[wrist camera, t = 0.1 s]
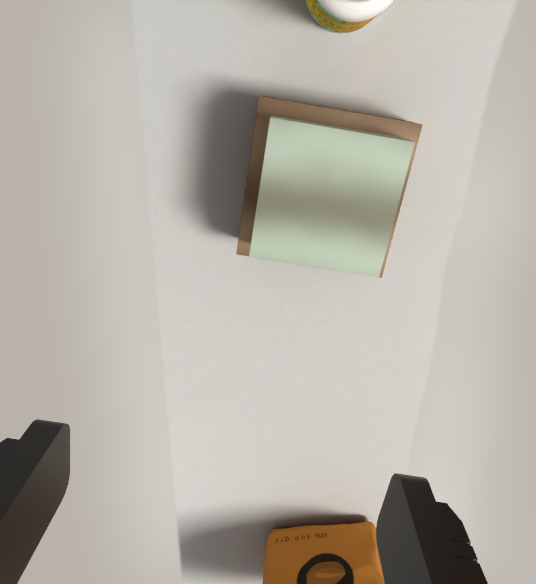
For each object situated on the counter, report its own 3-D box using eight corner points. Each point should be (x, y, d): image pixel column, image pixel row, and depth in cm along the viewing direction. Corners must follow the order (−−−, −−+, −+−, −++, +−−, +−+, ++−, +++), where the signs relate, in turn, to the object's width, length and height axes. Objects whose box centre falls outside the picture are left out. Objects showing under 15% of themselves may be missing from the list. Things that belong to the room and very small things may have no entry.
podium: (261, 96, 36) (256, 97, 29) (408, 121, 36) (435, 127, 30) (240, 239, 40) (232, 267, 33) (372, 260, 40) (389, 292, 34)
